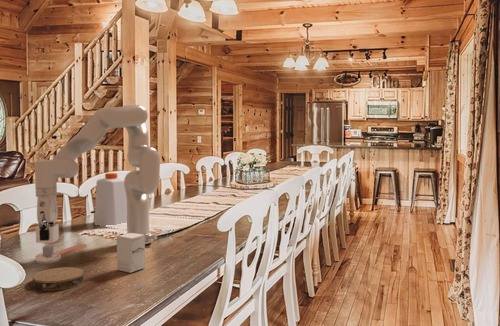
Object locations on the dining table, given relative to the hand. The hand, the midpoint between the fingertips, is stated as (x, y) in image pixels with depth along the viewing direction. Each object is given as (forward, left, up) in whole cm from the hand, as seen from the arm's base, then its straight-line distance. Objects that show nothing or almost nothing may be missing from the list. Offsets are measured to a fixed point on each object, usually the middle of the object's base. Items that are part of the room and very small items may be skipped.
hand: (47, 237), depth 189 cm
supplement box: (-36, 0, -10) cm, 37 cm away
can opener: (+35, -94, -10) cm, 101 cm away
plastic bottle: (+13, -66, -10) cm, 68 cm away
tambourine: (-20, +20, -10) cm, 30 cm away
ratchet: (0, 0, -9) cm, 9 cm away
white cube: (0, 0, -1) cm, 1 cm away
